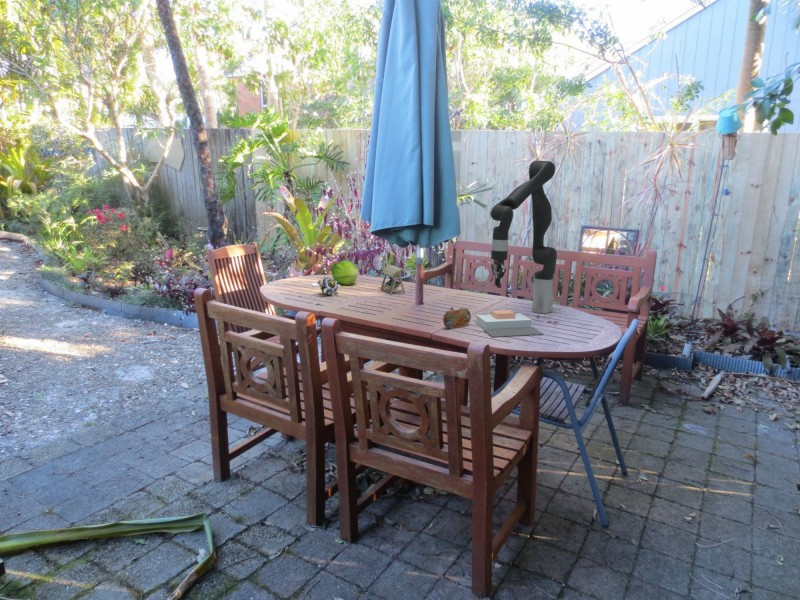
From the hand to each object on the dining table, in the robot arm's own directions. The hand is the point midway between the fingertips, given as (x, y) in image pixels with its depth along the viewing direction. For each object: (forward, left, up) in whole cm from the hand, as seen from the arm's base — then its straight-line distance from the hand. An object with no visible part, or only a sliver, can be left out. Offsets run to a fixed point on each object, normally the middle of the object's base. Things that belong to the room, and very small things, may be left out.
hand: (497, 285), depth 254 cm
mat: (0, +21, -17) cm, 27 cm away
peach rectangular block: (0, +9, -13) cm, 16 cm away
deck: (0, +9, -17) cm, 19 cm away
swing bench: (+36, -70, -17) cm, 80 cm away
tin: (+22, +7, -17) cm, 29 cm away
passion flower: (+74, -68, -17) cm, 102 cm away
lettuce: (+61, -96, -17) cm, 115 cm away
